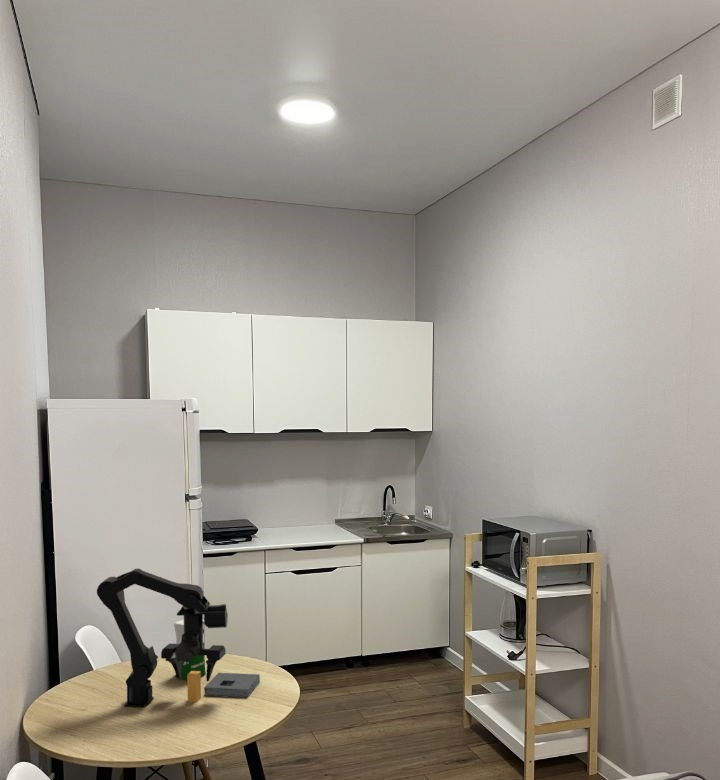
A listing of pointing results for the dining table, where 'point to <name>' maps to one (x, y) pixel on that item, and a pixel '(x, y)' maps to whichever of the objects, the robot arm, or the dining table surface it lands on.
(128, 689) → the robot arm
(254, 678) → the gray slab with hole
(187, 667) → the milk carton
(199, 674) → the tan rectangular box
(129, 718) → the dining table surface
